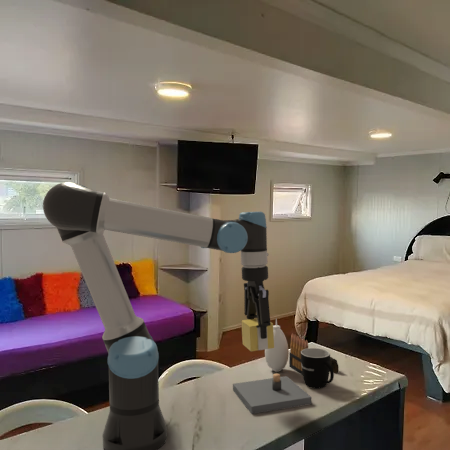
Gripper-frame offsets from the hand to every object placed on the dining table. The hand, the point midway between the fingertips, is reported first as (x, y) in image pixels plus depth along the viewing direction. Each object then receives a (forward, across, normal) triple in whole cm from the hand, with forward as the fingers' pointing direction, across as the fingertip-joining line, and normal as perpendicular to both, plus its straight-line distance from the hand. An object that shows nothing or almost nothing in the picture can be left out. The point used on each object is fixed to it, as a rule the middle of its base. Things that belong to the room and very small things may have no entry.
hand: (257, 344), depth 124 cm
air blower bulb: (+17, +19, -13) cm, 28 cm away
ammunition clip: (+17, +16, -20) cm, 31 cm away
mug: (+17, +3, -20) cm, 27 cm away
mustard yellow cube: (0, 0, 0) cm, 0 cm away
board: (+16, +1, -4) cm, 16 cm away
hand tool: (+17, +19, -30) cm, 39 cm away
